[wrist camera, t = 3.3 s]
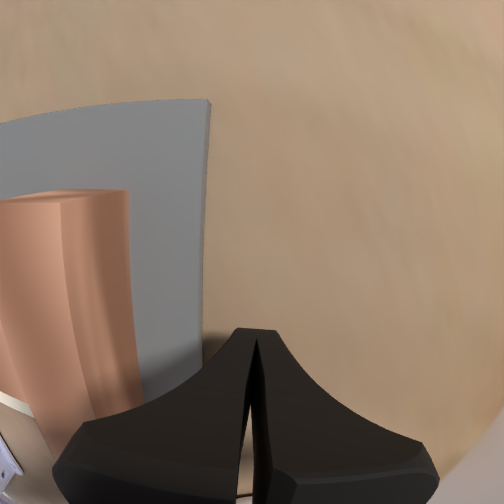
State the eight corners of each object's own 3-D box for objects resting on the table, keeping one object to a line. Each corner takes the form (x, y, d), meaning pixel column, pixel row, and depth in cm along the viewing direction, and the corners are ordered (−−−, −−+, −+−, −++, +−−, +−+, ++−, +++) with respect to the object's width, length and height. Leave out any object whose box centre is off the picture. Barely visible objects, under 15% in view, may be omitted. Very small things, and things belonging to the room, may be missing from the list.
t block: (128, 189, 10) (60, 202, 6) (147, 418, 12) (120, 482, 8) (-5, 192, 10) (-72, 205, 6) (31, 384, 12) (-8, 428, 9)
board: (205, 452, 14) (203, 463, 13) (-42, 369, 14) (-48, 374, 13) (211, 104, 10) (207, 99, 9) (-78, 152, 10) (-87, 152, 9)
